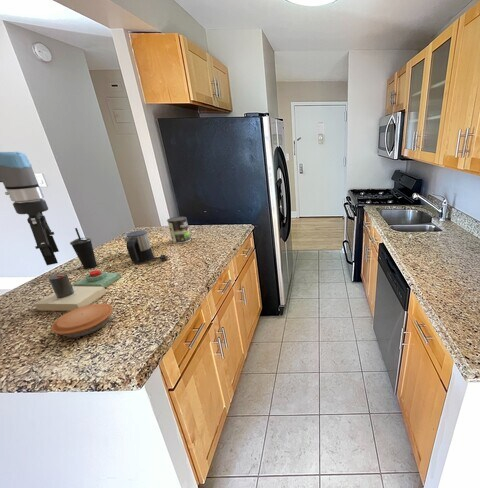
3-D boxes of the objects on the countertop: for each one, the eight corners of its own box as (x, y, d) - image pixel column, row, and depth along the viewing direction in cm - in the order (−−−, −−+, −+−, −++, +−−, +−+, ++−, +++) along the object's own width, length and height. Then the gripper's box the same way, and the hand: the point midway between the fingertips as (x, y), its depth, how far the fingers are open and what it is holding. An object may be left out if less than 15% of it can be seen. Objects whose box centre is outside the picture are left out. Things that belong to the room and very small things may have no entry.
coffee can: (194, 238, 164) (190, 216, 159) (183, 244, 155) (178, 221, 150) (179, 237, 166) (175, 216, 161) (168, 243, 156) (162, 220, 151)
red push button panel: (74, 288, 109) (71, 280, 107) (95, 276, 118) (92, 269, 117) (102, 288, 109) (99, 280, 107) (120, 277, 118) (118, 269, 116)
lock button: (88, 277, 110) (87, 273, 110) (95, 273, 114) (94, 269, 113) (96, 277, 110) (95, 273, 110) (103, 273, 114) (102, 269, 113)
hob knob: (52, 298, 97) (43, 278, 94) (65, 290, 102) (57, 272, 99) (65, 298, 97) (57, 278, 94) (78, 291, 101) (70, 272, 98)
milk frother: (135, 257, 137) (127, 231, 131) (169, 252, 144) (162, 227, 138) (130, 269, 125) (121, 240, 120) (168, 262, 132) (161, 235, 126)
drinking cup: (100, 261, 133) (86, 224, 125) (100, 267, 127) (86, 228, 120) (80, 266, 128) (65, 227, 121) (80, 271, 123) (63, 232, 115)
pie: (49, 330, 85) (42, 318, 83) (106, 306, 97) (101, 295, 95) (63, 350, 77) (57, 336, 75) (123, 321, 89) (119, 309, 87)
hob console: (37, 310, 95) (33, 303, 94) (68, 292, 106) (65, 285, 105) (79, 311, 95) (76, 303, 93) (106, 293, 106) (103, 286, 105)
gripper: (17, 196, 93) (41, 250, 101) (5, 209, 76) (35, 273, 84) (46, 193, 98) (67, 245, 106) (41, 205, 81) (67, 266, 89)
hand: (53, 257), depth 95 cm, fingers open, 13 cm apart
